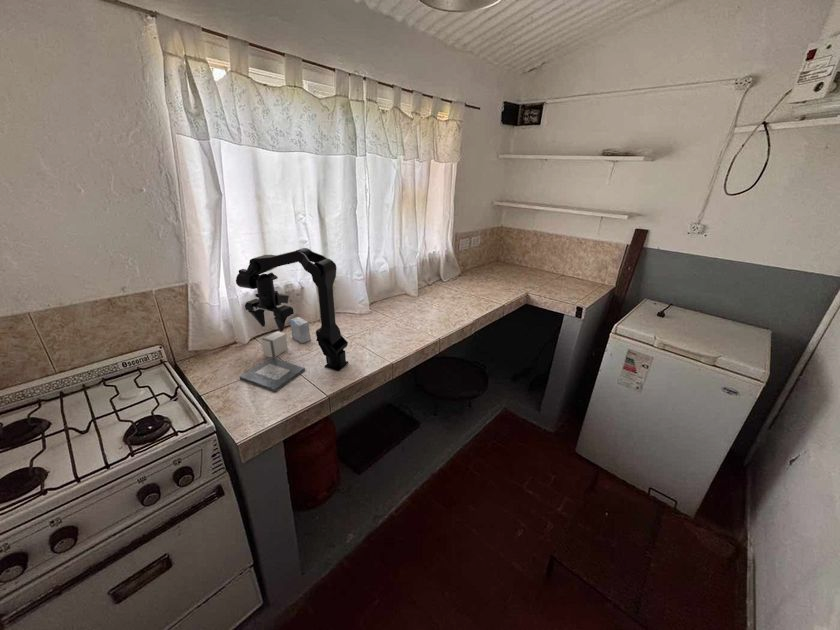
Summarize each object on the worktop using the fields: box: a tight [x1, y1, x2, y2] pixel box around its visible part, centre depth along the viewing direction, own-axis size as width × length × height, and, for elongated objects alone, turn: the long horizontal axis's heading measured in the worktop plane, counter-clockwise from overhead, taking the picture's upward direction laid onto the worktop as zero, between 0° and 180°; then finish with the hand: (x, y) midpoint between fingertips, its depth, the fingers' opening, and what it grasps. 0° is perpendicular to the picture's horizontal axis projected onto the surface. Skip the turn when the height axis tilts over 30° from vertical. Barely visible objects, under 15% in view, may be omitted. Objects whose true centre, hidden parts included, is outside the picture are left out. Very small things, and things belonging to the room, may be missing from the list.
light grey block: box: [260, 330, 289, 358], centre depth 127 cm, size 5×8×7 cm, turn 156°
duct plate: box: [239, 357, 306, 393], centre depth 115 cm, size 16×14×1 cm
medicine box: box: [289, 316, 311, 344], centre depth 138 cm, size 8×4×9 cm, turn 48°
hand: (272, 328), depth 125 cm, fingers open, 9 cm apart
